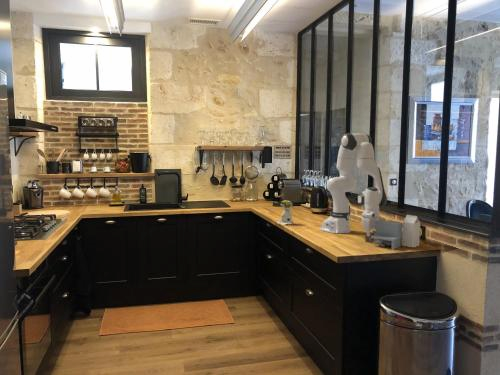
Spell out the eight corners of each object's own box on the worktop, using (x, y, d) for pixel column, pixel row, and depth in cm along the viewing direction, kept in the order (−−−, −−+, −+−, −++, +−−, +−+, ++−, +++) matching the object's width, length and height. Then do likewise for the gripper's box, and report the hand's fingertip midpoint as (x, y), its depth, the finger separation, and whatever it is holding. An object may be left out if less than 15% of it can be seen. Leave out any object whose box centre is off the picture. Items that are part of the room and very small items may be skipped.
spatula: (365, 241, 256) (365, 232, 255) (368, 240, 259) (368, 231, 259) (391, 246, 245) (392, 236, 245) (394, 245, 248) (394, 235, 248)
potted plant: (284, 221, 324) (284, 198, 322) (297, 223, 315) (297, 200, 313) (274, 223, 316) (274, 200, 314) (287, 225, 307) (287, 201, 305)
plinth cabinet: (370, 245, 246) (371, 222, 244) (379, 242, 255) (380, 220, 254) (393, 249, 237) (394, 225, 235) (401, 245, 246) (402, 222, 245)
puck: (378, 246, 245) (378, 243, 245) (381, 245, 248) (381, 242, 248) (385, 247, 242) (385, 244, 242) (387, 246, 245) (387, 243, 245)
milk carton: (412, 248, 240) (413, 216, 238) (401, 245, 246) (403, 215, 244) (419, 246, 245) (420, 215, 243) (408, 244, 250) (409, 214, 248)
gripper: (373, 210, 264) (373, 231, 265) (360, 214, 248) (360, 236, 250) (382, 211, 260) (382, 232, 262) (370, 215, 244) (370, 238, 246)
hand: (371, 234), depth 255 cm, fingers open, 8 cm apart
